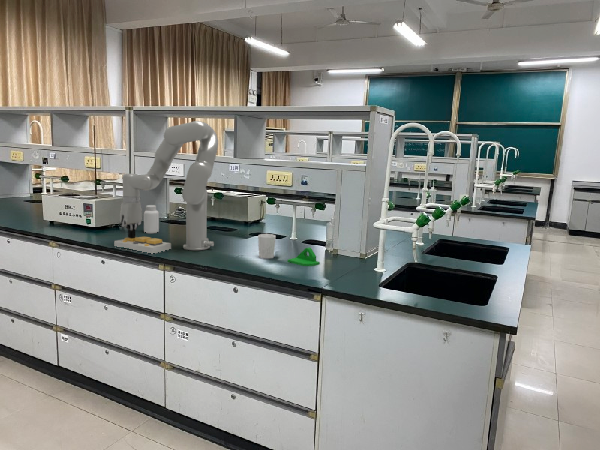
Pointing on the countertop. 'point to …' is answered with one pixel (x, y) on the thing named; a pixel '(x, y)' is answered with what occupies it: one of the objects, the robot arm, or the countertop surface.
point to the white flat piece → (143, 246)
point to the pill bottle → (151, 219)
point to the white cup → (266, 245)
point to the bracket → (305, 258)
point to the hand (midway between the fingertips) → (131, 237)
